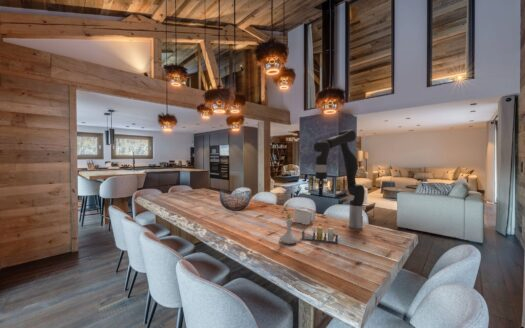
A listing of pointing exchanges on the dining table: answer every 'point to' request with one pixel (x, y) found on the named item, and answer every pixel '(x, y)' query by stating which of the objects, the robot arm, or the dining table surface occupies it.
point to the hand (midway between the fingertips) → (320, 195)
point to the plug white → (330, 234)
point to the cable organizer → (304, 215)
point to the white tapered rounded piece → (288, 231)
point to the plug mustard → (319, 232)
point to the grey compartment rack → (324, 239)
